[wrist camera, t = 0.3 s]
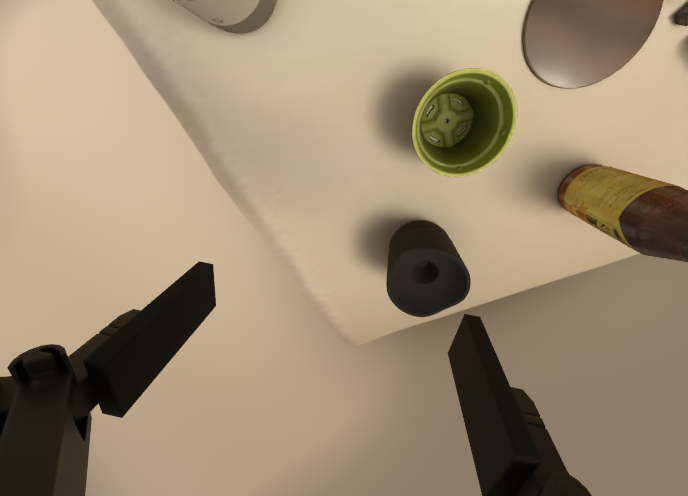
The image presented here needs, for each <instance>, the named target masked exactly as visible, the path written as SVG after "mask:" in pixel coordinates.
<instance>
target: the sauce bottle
mask: <svg viewBox="0 0 688 496" xmlns="http://www.w3.org/2000/svg"><path fill="white" fill-rule="evenodd" d="M559 200H560V203H561V204H562V205H563V206H564V208H566V209H567V210H568V211H569V212H570V213H571V214H573V215H574V216H576V217H578V218H580V219H581V220H583V221H585V222H587V223H588V224H590V225H592V226H593V227H595V228H597V229H599V230H600V231H602V232H604V233H605V234H607V235H609V236H611V237H613V238H614V239H616V240H618V241H620V242H621V243H623V244H625V245H627V246H628V247H630V248H632V249H634V250H636V251H637V252H639V253H641V254H644V255H648V256H654V257H661V258H668V259H673V260H680V261H684V262H688V190H685V189H684V188H682V187H679V186H676V185H672V184H669V183H665V182H662V181H658V180H654V179H651V178H647V177H644V176H640V175H637V174H633V173H630V172H626V171H623V170H619V169H615V168H612V167H606V166H601V165H589V166H585V167H583V168H580V169H577V170H575V171H574V172H572V173H571V174H570V175H568V176H567V178H566V179H565V180H564V181H563V183H562V185H561V187H560V190H559Z"/></svg>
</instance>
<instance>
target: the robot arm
mask: <svg viewBox="0 0 688 496" xmlns="http://www.w3.org/2000/svg"><path fill="white" fill-rule="evenodd" d="M215 306H216V299H215V286H214V272H213V264H209V263H204V262H198V263H197V264H195V265H194V266H193V267H192V268H191V269H190V270H188V271H187V272H186V273H185V274H184V275H183V276H181V277H180V278H179V279H178V280H177V281H175V282H174V283H173V284H172V285H171V286H170V287H168V288H167V289H166V290H165V291H164V292H162V293H161V294H160V295H159V296H158V297H157V298H155V300H153V301H152V302H151V303H150V304H148V305H147V306H146V307H145V308H144V309H143V310H141V311H140V310H135V309H133V310H131V311H129V312H127V313H125V314H123V315H120V316H119V317H117V318H116V319H115V320H114V321H112V322H111V323H110V324H109V325H108V327H105V328H104V329H103V330H101V331H100V332H99V334H96V335H95V336H94V337H92V338H91V339H90V340H89V341H87V342H86V343H85V344H84V345H82V346H81V347H80V348H79V349H77V350H76V351H75V352H74V353H72V354H71V355H70V356H69V357H68V356H67V354H66V351H65V349H64V348H63V347H62V346H60V345H53V344H51V345H43V346H39V347H36V348H33V349H30V350H28V351H26V352H24V353H22V354H20V355H19V356H18V357H17V358H15V359H14V360H13V361H12V362H11V363H10V365H9V366H8V370H9V371H10V373H11V375H12V376H9V377H0V496H85V490H86V489H85V488H86V477H87V467H88V454H89V442H90V431H91V420H92V417H91V413H90V411H92V410H93V408H94V407H95V406H96V405H97V404H98V403H99V405H100V408H101V411H102V413H103V414H108V415H112V416H116V417H121V418H122V417H123V416H124V415H125V414H126V413H127V411H128V410H129V409H130V407H132V405H133V404H134V403H135V402H136V401H137V399H138V398H139V397H140V396H141V395H142V393H143V392H144V391H145V390H146V389H147V387H148V386H149V385H150V384H151V383H152V381H153V380H154V379H155V378H156V377H157V376H158V374H159V373H160V372H161V371H162V370H163V368H164V367H165V366H166V365H167V363H168V362H169V361H170V360H171V359H172V358H173V356H174V355H175V354H176V353H177V352H178V351H179V349H180V348H181V347H182V346H183V344H184V343H185V342H186V341H187V339H188V338H189V337H190V336H191V335H192V334H193V333H194V331H195V330H196V329H197V328H198V327H199V325H200V324H201V323H202V322H203V321H204V319H205V318H206V317H207V316H208V315H209V314H210V312H211V311H212V310H213V308H215ZM448 356H449V360H450V364H451V368H452V373H453V377H454V381H455V385H456V389H457V393H458V397H459V401H460V406H461V410H462V413H463V418H464V422H465V426H466V430H467V434H468V439H469V443H470V447H471V451H472V455H473V459H474V463H475V467H476V471H477V476H478V480H479V484H480V488H481V492H482V496H591V494H590V493H589V491H588V490H587V489H586V488H585V487H584V486H583V485H582V484H581V483H580V482H579V481H578V480H577V479H575V478H574V477H572V476H570V475H569V473H568V472H567V470H566V468H565V466H564V464H563V462H562V460H561V458H560V456H559V454H558V451H557V450H556V447H555V445H554V443H553V441H552V439H551V437H550V435H549V433H548V431H547V429H545V425H544V423H543V421H542V419H541V418H540V415H539V412H538V410H537V408H536V406H535V405H534V402H533V401H532V400H531V399H530V398H529V396H528V395H527V394H526V393H525V392H524V391H523V390H522V389H517V388H513V387H510V385H509V383H508V380H507V378H506V376H505V374H504V372H503V369H502V367H501V364H500V362H499V360H498V358H497V355H496V353H495V351H494V348H493V346H492V344H491V341H490V339H489V337H488V334H487V332H486V330H485V327H484V325H483V323H482V321H481V318H480V317H477V316H472V315H467V314H464V317H463V319H462V322H461V324H460V326H459V329H458V331H457V333H456V335H455V338H454V340H453V342H452V345H451V347H450V350H449V352H448Z"/></svg>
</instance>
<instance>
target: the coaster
mask: <svg viewBox="0 0 688 496" xmlns="http://www.w3.org/2000/svg"><path fill="white" fill-rule="evenodd" d="M662 3H663V0H533V1H532V3H531V6H530V8H529V11H528V14H527V17H526V21H525V26H524V32H523V47H524V53H525V57H526V60H527V63H528V65H529V67H530V69H531V70H532V72H533V73H534V74H535V75H536V76H537V77H538V78H539V79H540V80H541V81H543V82H545V83H546V84H549V85H551V86H554V87H558V88H579V87H584V86H588V85H591V84H594V83H597V82H599V81H601V80H603V79H605V78H607V77H609V76H610V75H612V74H613V73H615V72H616V71H618V70H619V69H620V68H622V67H623V66H624V65H625V64H626V63H628V62H629V61H630V60H631V59H632V58H633V57H634V56H635V54H636V53H637V52H638V51H639V50H640V48H641V47H642V46H643V45H644V43H645V42H646V40H647V39H648V37H649V36H650V34H651V32H652V30H653V28H654V26H655V24H656V22H657V20H658V17H659V14H660V11H661V8H662Z"/></svg>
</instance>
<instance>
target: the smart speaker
mask: <svg viewBox="0 0 688 496" xmlns="http://www.w3.org/2000/svg"><path fill="white" fill-rule="evenodd" d="M174 1H175V2H177V3H178V4H180V5H182V6H183V7H185V8H186V9H188V10H189V11H191V12H192V13H194V14H195V15H197V16H198V17H200V18H201V19H203V20H205V21H206V22H208V23H210V24H212V25H214V26H216V27H218V28H220V29H222V30H225V31H229V32H234V33H246V32H250V31H253V30H255V29H257V28H259V27H260V26H262V25H263V24H264V23H265V22H266V21H267V20H268V18H269V17H270V15H271V14H272V12H273V10H274V7H275V4H276V0H174Z"/></svg>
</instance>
